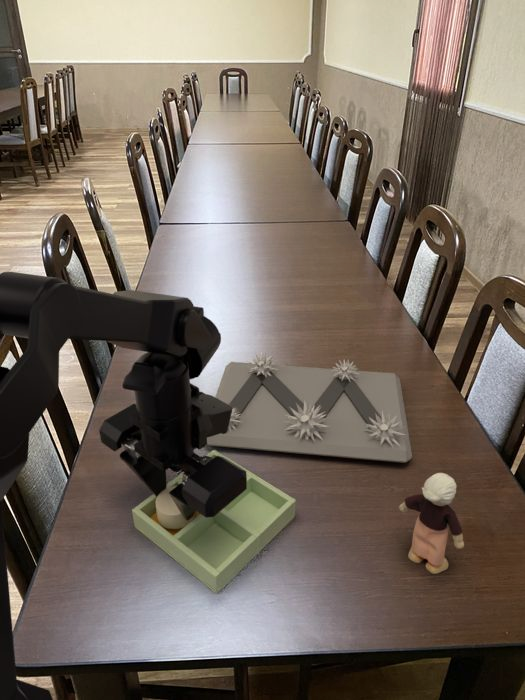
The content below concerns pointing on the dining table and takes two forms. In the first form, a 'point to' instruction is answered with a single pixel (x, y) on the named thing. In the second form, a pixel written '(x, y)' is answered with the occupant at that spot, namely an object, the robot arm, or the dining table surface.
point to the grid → (221, 530)
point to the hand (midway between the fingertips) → (175, 507)
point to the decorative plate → (314, 411)
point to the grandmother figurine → (434, 522)
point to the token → (169, 511)
